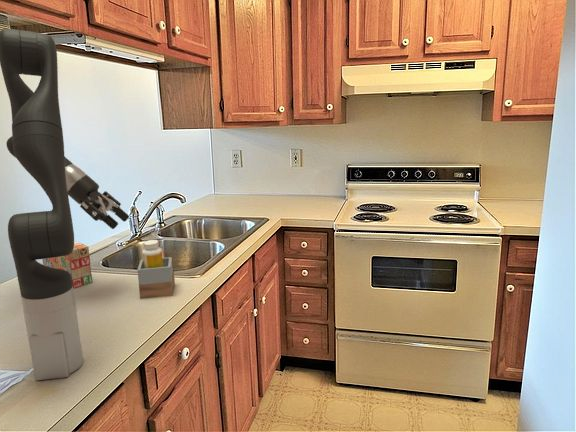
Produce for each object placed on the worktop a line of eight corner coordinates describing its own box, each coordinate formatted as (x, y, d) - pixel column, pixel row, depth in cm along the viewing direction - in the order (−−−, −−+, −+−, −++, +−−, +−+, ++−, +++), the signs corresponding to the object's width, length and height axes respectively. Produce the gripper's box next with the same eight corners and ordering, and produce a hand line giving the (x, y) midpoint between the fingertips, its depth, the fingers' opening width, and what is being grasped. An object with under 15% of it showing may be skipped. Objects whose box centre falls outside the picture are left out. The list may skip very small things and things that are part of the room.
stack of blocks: (43, 273, 145) (38, 238, 142) (63, 268, 150) (58, 234, 147) (73, 289, 132) (68, 250, 129) (93, 282, 136) (88, 245, 134)
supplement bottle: (141, 274, 127) (137, 243, 124) (155, 268, 131) (151, 238, 128) (153, 277, 124) (149, 246, 121) (168, 271, 128) (164, 240, 126)
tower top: (171, 281, 125) (170, 267, 124) (138, 285, 123) (137, 270, 122) (172, 271, 133) (171, 257, 132) (142, 273, 131) (140, 259, 130)
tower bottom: (172, 296, 125) (171, 282, 124) (140, 299, 124) (138, 284, 123) (174, 284, 134) (173, 271, 133) (144, 287, 133) (143, 273, 132)
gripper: (72, 178, 114) (120, 219, 117) (95, 171, 128) (138, 208, 130) (55, 198, 115) (103, 239, 118) (80, 189, 129) (122, 225, 132)
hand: (121, 222), depth 124 cm, fingers open, 8 cm apart
